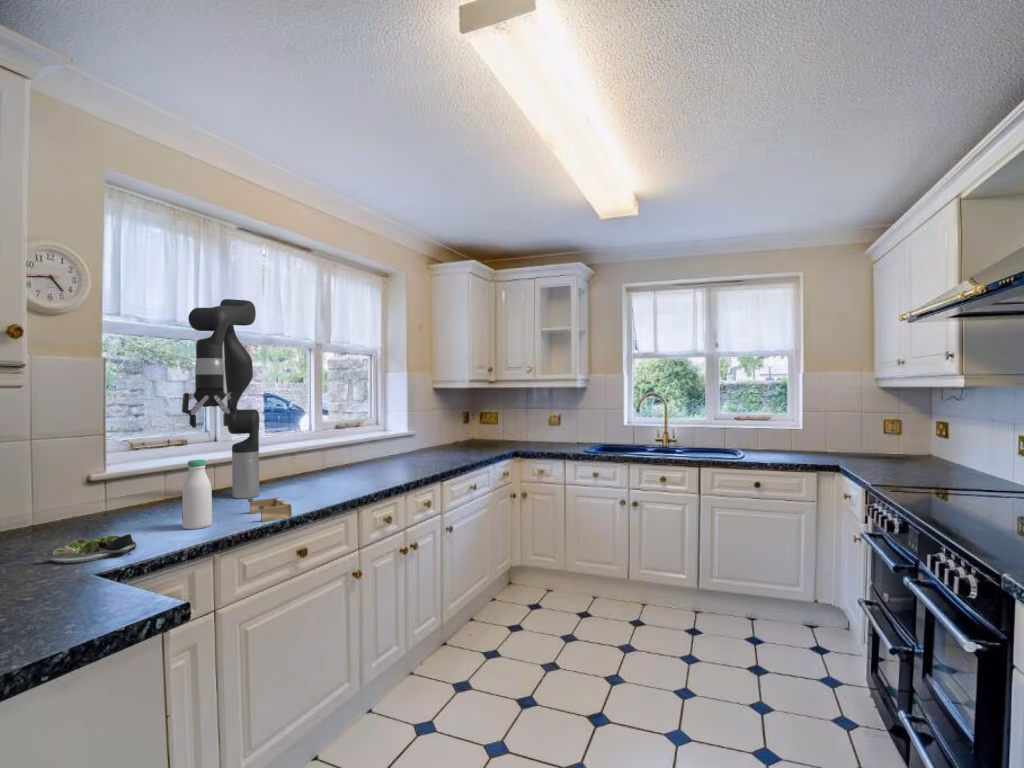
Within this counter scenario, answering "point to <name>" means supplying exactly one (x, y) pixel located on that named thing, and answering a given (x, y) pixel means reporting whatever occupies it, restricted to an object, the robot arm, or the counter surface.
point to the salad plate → (92, 549)
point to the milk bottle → (196, 497)
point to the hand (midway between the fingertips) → (209, 426)
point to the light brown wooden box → (270, 508)
